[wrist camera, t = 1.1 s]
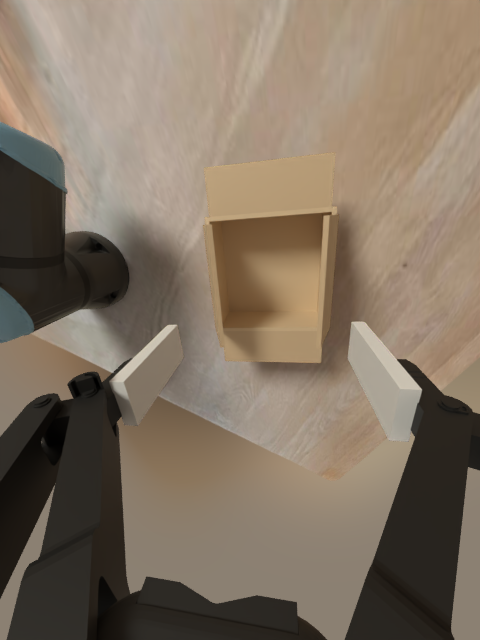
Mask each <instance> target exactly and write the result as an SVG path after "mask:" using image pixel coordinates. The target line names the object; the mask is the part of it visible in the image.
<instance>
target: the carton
mask: <svg viewBox="0 0 480 640" xmlns="http://www.w3.org/2000/svg"><path fill="white" fill-rule="evenodd" d="M334 165H335V152H333V153H324V154H316V155H307V156H299V157H290V158H282V159H274V160H265V161H257V162H248V163H240V164H232V165H223V166H215V167H206V168H204V174H205V183H206V192H207V201H208V210H209V217H205V225H210V224H212V232H213V241H214V250H215V260H216V269H217V278H218V287H219V296H220V305H221V315H222V324H223V333H224V342H225V347H224V353H225V361H246V362H296V363H321V354H322V347H321V349H320V348H316V340H317V322H318V305H319V288H320V271H321V253H322V236H323V219H324V216H326V215H337V206H335V207H332V194H333V180H334Z"/></svg>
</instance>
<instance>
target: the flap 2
mask: <svg viewBox="0 0 480 640" xmlns="http://www.w3.org/2000/svg"><path fill="white" fill-rule="evenodd" d="M338 222H339V215H326V216H324V219H323V236H322V253H321V271H320V288H319V305H318V322H317V340H316V348H320V349H321V347H322V345H323V342H324V340H325V338H326V335H327V333H328V331H329V329H330V321H331V308H332V296H333V284H334V271H335V259H336V246H337V234H338Z"/></svg>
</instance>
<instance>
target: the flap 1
mask: <svg viewBox="0 0 480 640" xmlns="http://www.w3.org/2000/svg"><path fill="white" fill-rule="evenodd" d="M203 229H204V237H205V246H206V254H207V262H208V270H209V278H210V287H211V295H212V303H213V311H214V319H215V327H216V332H217V335H218V339H219V343H220V347H225V342H224V333H223V324H222V315H221V305H220V296H219V287H218V278H217V269H216V260H215V250H214V241H213V232H212V224H210V225H203Z"/></svg>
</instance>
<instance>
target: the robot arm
mask: <svg viewBox="0 0 480 640" xmlns="http://www.w3.org/2000/svg"><path fill="white" fill-rule="evenodd" d="M66 194H67V189H66V188H65V170H64V162H63V160H62V158H61V156H60V155H59V153H58V152H57V151H56V150H55V149H54V148H52V147H51V146H49V145H47V144H46V143H44V142H42V141H40V140H38V139H36V138H34V137H32V136H29V135H27V134H25V133H23V132H21V131H19V130H17V129H15V128H13V127H11V126H8V125H6V124H4V123H2V122H0V343H3V342H7V341H10V340H12V339H15V338H18V337H20V336H23V335H29V334H30V333H32V332H34V331H36V330H38V329H40V328H42V327H44V326H46V325H48V324H51V323H53V322H55V321H57V320H59V319H61V318H63V317H65V316H67V315H69V314H71V313H73V312H75V311H78V310H80V309H97V308H104V307H108V306H110V305H112V304H114V303H116V302H118V301H119V300H120V299H121V298H122V297H123V296H124V295H125V293H126V291H127V288H128V284H129V274H128V269H127V265H126V263H125V260H124V258H123V256H122V255H121V253H120V252H119V250H118V249H117V248H116V247H115V246H114V245H113V244H112V243H111V242H110V241H109V240H107V239H106V238H104V237H103V236H101V235H99V234H96V233H93V232H88V231H80V232H71V233H67V234H65V209H66ZM183 358H184V355H183V350H182V345H181V340H180V335H179V330H178V325H167V326H166V327H165V328H164V329H163V330H162V331H161V332H160V333H159V334H158V335H157V336H156V337H155V338H154V339H153V340H152V341H150V342H149V343H148V344H147V345H146V346H145V347H144V348H143V349H142V350H141V351H140V352H139V353H138V354H137V355H136V356H135V357H134V358H131V359H129V360H127V361H125V362H124V363H123V364H122V365H120V366H119V367H118V369H116V370H115V371H114V373H112V374H111V375H110V376H109V377H108V378H107V379H106V380H105V381H103V382H101V379H100V376H99V374H98V373H97V372H87V373H83V374H81V375H78V376H76V377H75V378H73V379H72V380H71V381H70V382H69V383H68V387H69V389H70V391H71V394H72V396H73V398H74V399H69V400H64V401H61V400H60V398H59V396H58V394H54V393H53V394H47V395H43V396H40V397H38V398H36V399H35V400H33V401H32V402H30V403H29V404H28V405H27V406H26V407H25V408H24V409H23V411H22V412H21V413H20V414H19V415H18V417H17V418H16V419H15V420H14V421H13V423H12V424H11V425H10V426H9V427H8V428H7V430H6V431H5V432H4V433H3V434H2V436H1V437H0V598H1V596H2V594H3V592H4V589H5V588H6V585H7V584H8V581H9V579H10V577H11V575H12V573H13V571H14V569H15V567H16V565H17V563H18V560H19V558H20V556H21V554H22V552H23V550H24V548H25V546H26V544H27V541H28V539H29V537H30V535H31V533H32V531H33V529H34V527H35V525H36V523H37V521H38V519H39V516H40V514H41V512H42V510H43V508H44V506H45V504H46V501H47V500H48V498H49V496H50V493H51V491H52V489H53V487H54V485H55V489H54V493H53V498H52V503H51V507H50V512H49V517H48V522H47V526H46V532H45V536H44V540H43V545H42V550H41V554H40V557H39V558H38V560H36V561H34V562H32V563H30V564H29V566H28V567H27V568H26V570H25V572H24V576H23V578H22V581H21V585H20V589H19V593H18V597H17V601H16V605H15V609H14V613H13V617H12V621H11V625H10V629H9V633H8V637H7V640H327V639H326V638H325V637H324V636H323V635H322V634H321V633H320V632H319V631H318V630H317V629H316V628H315V627H313V626H312V625H311V624H309V623H308V622H307V621H305V620H303V619H302V618H300V617H299V616H297V602H292V601H286V600H280V599H275V598H269V597H263V596H252V597H248V598H243V599H238V600H233V601H229V602H224V603H219V604H215V603H212V602H210V601H209V600H207V599H206V598H204V597H203V596H201V595H199V594H198V593H196V592H194V591H193V590H192V589H190V588H188V587H187V586H185V585H184V584H182V583H180V582H175V581H170V580H164V579H158V578H152V577H146V579H145V582H144V584H143V587H142V590H140V591H137V592H134V593H132V594H130V591H129V587H128V583H127V577H126V564H125V542H124V523H123V505H122V485H121V465H120V447H119V446H120V445H119V428H118V425H117V421H118V420H119V419H120V417H122V419H123V422H124V425H134V426H138V425H139V423H140V422H141V420H142V419H143V418H144V416H145V415H146V413H147V412H148V410H149V408H150V407H151V405H152V404H153V403H154V401H155V400H156V398H157V397H158V395H159V394H160V392H161V391H162V389H163V388H164V386H165V385H166V383H167V382H168V380H169V379H170V377H171V376H172V374H173V373H174V371H175V370H176V368H177V367H178V366H179V364H180V363H181V361H182V360H183ZM348 360H349V362H350V364H351V366H352V368H353V370H354V372H355V374H356V376H357V378H358V380H359V382H360V384H361V386H362V388H363V390H364V392H365V394H366V396H367V398H368V400H369V402H370V404H371V406H372V408H373V410H374V412H375V414H376V416H377V418H378V420H379V422H380V424H381V426H382V428H383V430H384V432H385V434H386V436H387V437H388V439H389V441H405V442H408V441H409V438H410V434H411V431H412V433H413V434H414V436H415V440H414V443H413V445H412V448H411V451H410V454H409V457H408V461H407V463H406V466H405V469H404V472H403V475H402V478H401V481H400V484H399V487H398V490H397V493H396V495H395V498H394V502H393V504H392V507H391V510H390V513H389V516H388V519H387V522H386V525H385V528H384V531H383V534H382V536H381V539H380V542H379V545H378V548H377V551H376V554H375V557H374V560H373V563H372V565H371V567H370V569H369V571H368V574H367V577H366V579H365V582H364V585H363V588H362V591H361V594H360V597H359V600H358V603H357V605H356V609H355V611H354V614H353V617H352V620H351V623H350V626H349V629H348V632H347V634H346V638H345V640H454V637H453V635H452V633H451V620H452V610H453V601H454V600H453V599H454V591H455V582H456V573H457V563H458V554H459V544H460V535H461V526H462V516H463V507H464V498H465V488H466V479H467V469H468V467H470V468H474V469H477V470H480V414H477V413H474V412H472V409H471V408H470V407H469V406H468V405H466V404H465V403H463V402H462V401H460V400H458V399H455V398H453V397H449V396H445V395H444V394H443V393H442V392H441V391H440V390H439V389H438V388H437V387H436V386H435V385H434V384H433V383H432V382H431V381H430V380H429V379H428V378H427V377H426V375H425V374H424V373H422V371H421V370H420V369H419V368H418V367H417V366H416V365H415V364H413V363H411V362H410V361H408V360H406V359H396V358H395V357H394V356H393V355H392V354H391V352H390V351H389V350H388V349H387V348H386V347H385V345H384V344H383V343H382V342H381V341H380V339H379V338H378V337H377V336H376V335H375V334H374V332H373V331H372V330H371V329H370V328H369V326H368V325H367V324H366V323H365V322H352V323H351V332H350V341H349V351H348ZM41 441H42V444H41ZM55 483H56V484H55Z"/></svg>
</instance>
